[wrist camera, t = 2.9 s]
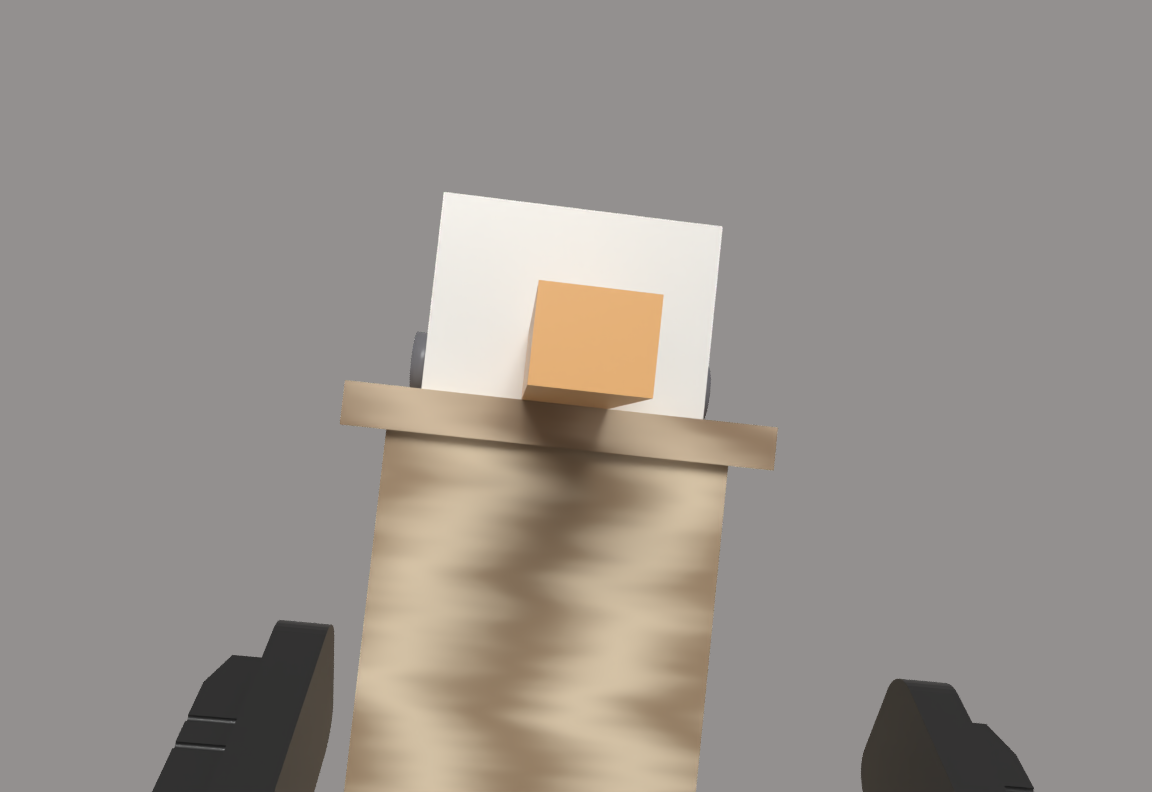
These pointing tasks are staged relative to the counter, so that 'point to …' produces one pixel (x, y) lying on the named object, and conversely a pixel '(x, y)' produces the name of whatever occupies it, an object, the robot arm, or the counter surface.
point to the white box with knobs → (570, 307)
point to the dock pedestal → (538, 593)
